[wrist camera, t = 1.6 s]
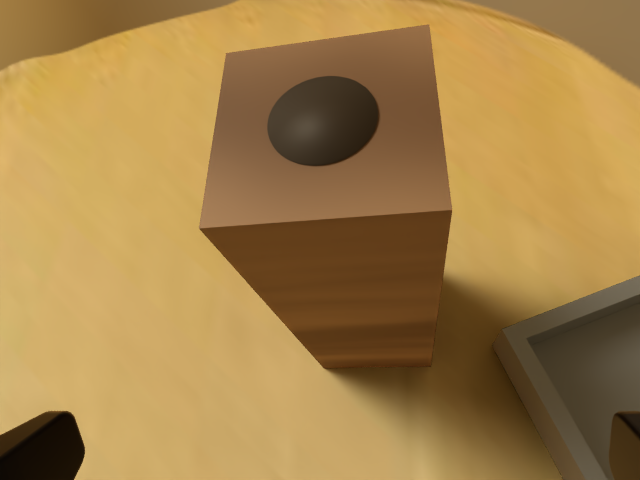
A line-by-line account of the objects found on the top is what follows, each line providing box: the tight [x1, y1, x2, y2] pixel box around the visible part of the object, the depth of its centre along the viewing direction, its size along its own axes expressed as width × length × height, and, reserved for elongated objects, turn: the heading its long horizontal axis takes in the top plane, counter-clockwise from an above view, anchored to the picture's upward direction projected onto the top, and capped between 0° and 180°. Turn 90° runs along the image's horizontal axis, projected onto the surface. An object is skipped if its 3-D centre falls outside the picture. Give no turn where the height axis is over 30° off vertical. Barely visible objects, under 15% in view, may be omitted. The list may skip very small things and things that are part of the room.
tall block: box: [199, 25, 452, 368], centre depth 15 cm, size 4×4×13 cm
